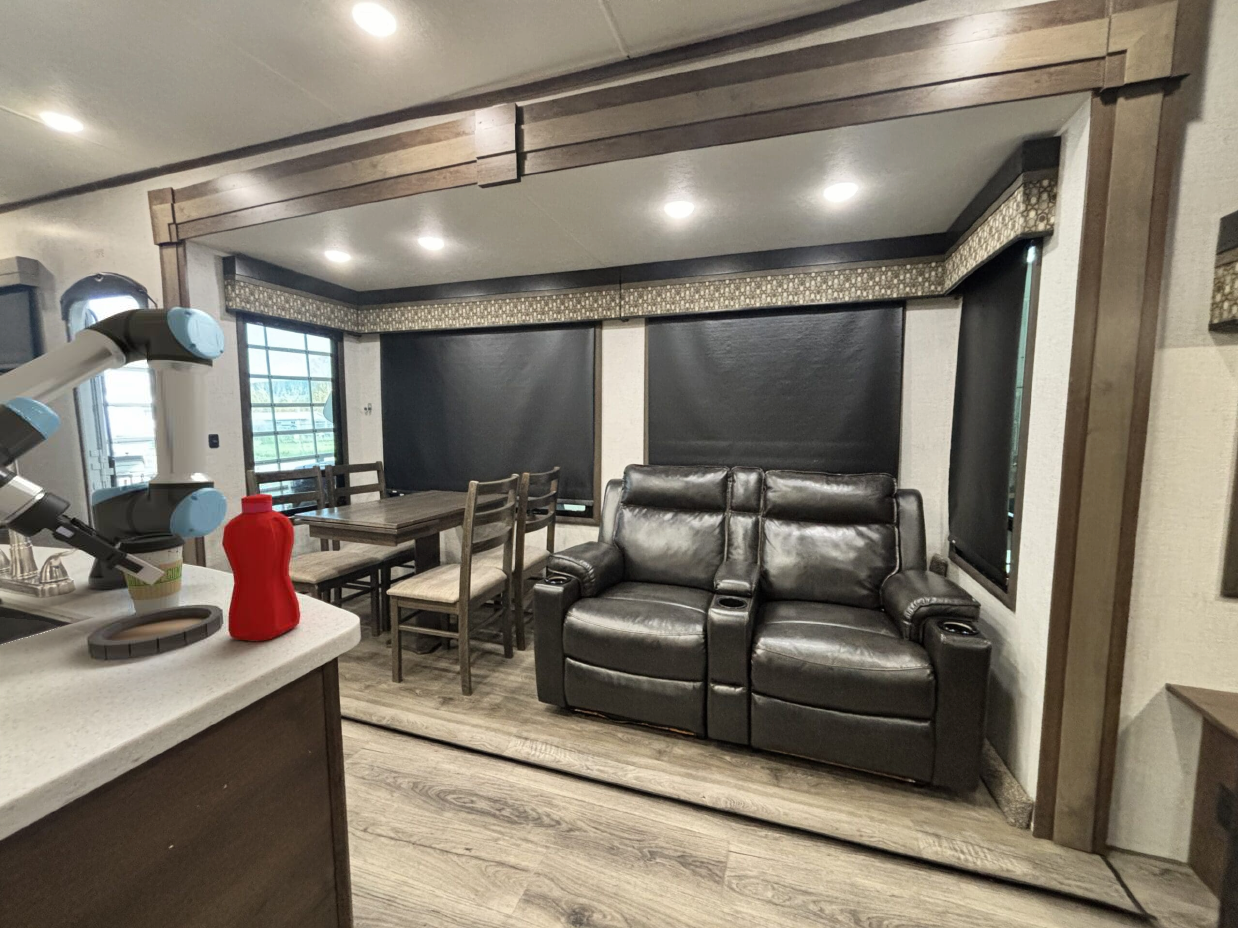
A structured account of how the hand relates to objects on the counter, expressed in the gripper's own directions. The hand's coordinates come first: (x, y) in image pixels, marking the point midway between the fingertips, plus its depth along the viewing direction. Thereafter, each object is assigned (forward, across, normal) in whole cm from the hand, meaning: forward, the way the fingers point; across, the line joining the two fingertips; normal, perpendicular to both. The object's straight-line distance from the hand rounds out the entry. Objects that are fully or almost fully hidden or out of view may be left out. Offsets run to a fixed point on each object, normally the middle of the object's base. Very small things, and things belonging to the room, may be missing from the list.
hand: (152, 571), depth 96 cm
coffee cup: (+6, 0, -6) cm, 9 cm away
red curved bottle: (+14, +28, +2) cm, 31 cm away
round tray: (+5, +16, -7) cm, 18 cm away
